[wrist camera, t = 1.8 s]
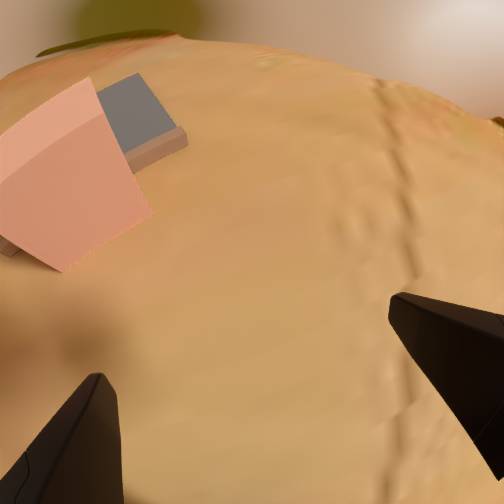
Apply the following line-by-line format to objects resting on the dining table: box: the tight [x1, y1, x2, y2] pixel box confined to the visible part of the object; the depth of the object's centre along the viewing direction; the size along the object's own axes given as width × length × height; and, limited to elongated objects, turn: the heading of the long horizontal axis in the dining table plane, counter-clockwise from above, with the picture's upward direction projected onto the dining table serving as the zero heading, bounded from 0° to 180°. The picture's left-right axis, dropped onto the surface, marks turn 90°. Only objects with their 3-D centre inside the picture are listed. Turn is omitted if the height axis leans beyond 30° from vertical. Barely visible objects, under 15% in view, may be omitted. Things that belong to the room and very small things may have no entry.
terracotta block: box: [0, 77, 153, 273], centre depth 17 cm, size 10×5×12 cm, turn 123°
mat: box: [0, 73, 188, 257], centre depth 24 cm, size 22×16×2 cm
